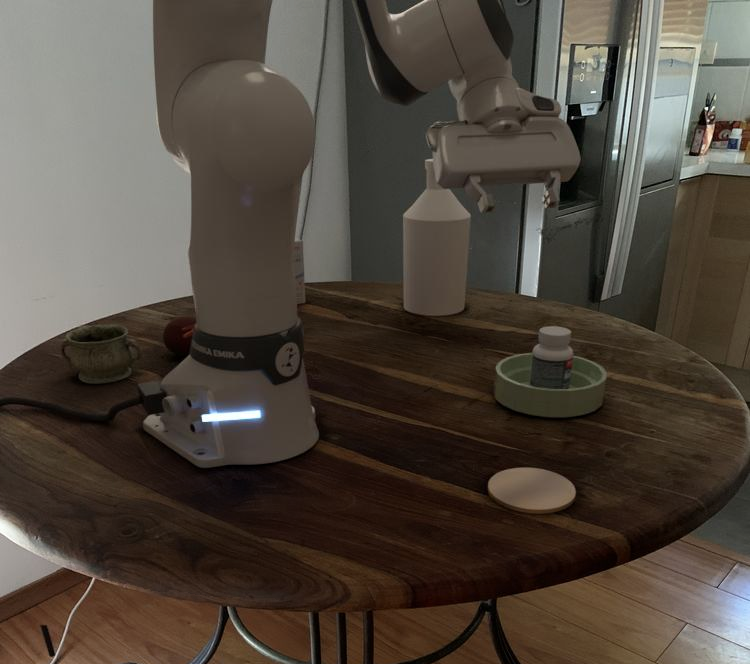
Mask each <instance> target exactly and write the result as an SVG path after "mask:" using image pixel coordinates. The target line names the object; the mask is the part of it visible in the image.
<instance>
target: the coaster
mask: <svg viewBox="0 0 750 664" xmlns="http://www.w3.org/2000/svg"><path fill="white" fill-rule="evenodd" d="M575 487H576V486H575V485H574V483H572V481H570V479H568V478H567V477H565V476H563V475H561V474H559V473H557V472H555V471H551V470H547V469H543V468H537V467H513V468H507V469H504V470H501V471H498V472H496V473H495V474H494V475H493V476H491V477H490V478H489V480H488V482H487V492H488V495H489V497H490V498H491V499H492V500H493V501H494V502H495V503H497V504H498V505H500V506H502V507H504V508H506V509H509V510H512V511H514V512H520V513H525V514H537V515H542V514H543V515H544V514H552V513H557V512H560V511H563V510H566V509H567V508H569V507H570V506H571V505H572V504H573V503H574V502H575V500H576V496H577V490H576V488H575Z"/></svg>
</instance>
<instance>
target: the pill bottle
mask: <svg viewBox="0 0 750 664" xmlns="http://www.w3.org/2000/svg"><path fill="white" fill-rule="evenodd" d="M571 338H572V331H571V330H570V329H569V328H566V327H563V326H556V325H555V326H554V325H552V326H551V325H549V326H543V327H541V328H540V329H539V330H538V337H537V340H538V342H539V343H537V344H536V345H535V346H534V347H533V349H532V352H531V353H532V363H531V373H530V381H529V386H533V387H540V388H549V389H569V384H570V376H571V369H572V361H573V356H574V350H573V349H572V347H571V346H569V345H570V343H571Z"/></svg>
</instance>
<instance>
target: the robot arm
mask: <svg viewBox="0 0 750 664" xmlns="http://www.w3.org/2000/svg"><path fill="white" fill-rule="evenodd" d="M273 1H274V0H152V40H153V41H152V42H153V44H152V45H153V67H154V68H153V69H154V85H155V98H156V99H155V101H156V113H155V114H156V125H157V130H158V134H159V137H160V139H161V142H162V144H163V146H164V148H165V150H166V151H167V153H168V155H169V156H170V158H171V159H172V160H173V161H174V163H176V164H177V166H179V167H180V168H181V169H182V170H184V171H185V172H187V173H188V174H189V180H190V235H189V242H188V247H187V258H188V259H187V260H188V266H189V267H188V268H189V272H190V273H189V274H190V282H191V291H192V298H193V306H194V311H195V318H196V320H197V323H196V324H194V325H191V326H188V327H184V328H182V330H187V329H192V331H190V332H188V333H186V334H185V335H183V337H184V338H186V337H189V336H192V341H191V347H190V355H189V356H187V357H185V358H184V359H182V361H181V362H180V363H178V364H177V365H176V366H175V367H174V368H173V369H172V370H171V371H170V372H168V373H167V374H166V375H165V376H164V377H163V378H162V380H161V381H160V383H159V382H158V380H152V381H146V382H141V383H137V384H136V386H137V387H136V388H137V392H138V396H136V397H133V398H130V399H127V400H126V399H125V400H124V401H121V402H119V403H117V404H114V405H113V406H111V408H109V410H108V413H106V414H95V413H89V412H83V411H79V410H75V409H71V408H67V407H65V406H63V405H61V404H57V403H53V402H47V401H41V400H35V399H30V398H24V397H16V396H13V397H12V396H11V397H4V398H0V408H2V407H4V406H10V405H11V406H12V405H18V406H26V407H31V408H35V409H42V410H47V411H54V412H57V413H59V414H62V415H64V416H66V417H70V418H75V419H79V420H82V421H83V420H84V421H88V422H96V423H108V422H111V421H113V420H114V419H115V418H116V416H117V414H118V413H119V412H121V411H124V410H126V409H129V408H132V407H136V406H138V405H141V406H142V408H143V410H144V411H145V412H146V414H147V415H148V416H147V417H145V418H144V419H143V421H142V428H143V430H144V431H145V432H147V434H149V435H151V436H152V437H154V438H155V439H157V440H158V441H159V442H160V443H162V444H164V445H165V446H167V447H168V448H169V449H171V450H172V451H174V452H175V453H177V454H178V455H180V456H181V457H182V458H184V459H185V460H187V461H189V462H190V463H191V464H193V465H194V466H196V467H198V468H201V469H209V468H218V467H223V466H229V465H230V466H231V465H241V466H244V465H245V466H246V465H247V466H248V465H250V466H251V465H253V466H254V465H263V464H264V465H265V464H271V463H277V462H282V461H285V460H288V459H291V458H294V457H297V456H299V455H301V454H304V453H305V452H307V451H308V450H311V448H313V446H315V445H316V443H317V442H318V440H319V438H320V432H319V429H318V426H317V422H316V419H317V418H316V417H317V414H316V409H315V407H314V406H313V405H312V402H311V395H310V389H309V384H308V383H309V382H308V378H307V373H306V367H305V362H304V357H303V356H304V352H305V344H304V343H305V342H304V337H305V335H304V333H305V332H304V329H303V322H302V319H301V318H300V317H299V315H298V304H297V296H296V278H295V261H294V246H295V237H296V231H297V223H298V214H299V208H300V200H301V191H302V186H303V185H302V184H303V177H304V173H305V172H306V170H307V168H308V166H309V164H310V162H311V159H312V157H313V154H314V149H315V144H316V125H315V120H314V116H313V112H312V110H311V106H310V104H309V102H308V101H307V99H306V97H305V96H304V94H303V93H302V92H301V90H300V89H299V88H298V86H296V85H295V84H294V83H293V82H292V81H290V79H288V78H287V77H286V76H285V75H284V74H282V73H280V72H279V71H278V70H276V69H274V68H273V67H271V66H269V65H267V64H266V53H267V43H268V42H267V41H268V32H269V24H270V16H271V11H272V5H273ZM351 3H352V6H353V10H354V12H355V16H356V19H357V23H358V26H359V29H360V33H361V36H362V39H363V42H364V49H365V57H366V63H367V69H368V72H369V76H370V77H371V81H372V84H373V86H374V87H375V89H376V91H377V92H378V93H379V94H380V96H381V97H382V99H383V100H385V101H387V102H390V103H393V104H396V105H400V106H404V107H405V106H406V107H409V106H410V105H412V104H414V103H415V102H416V101H418V100H419V99H421V98H423V97H424V96H426V95H428V93H429V92H430V91H432V90H434V89H436V88H438V87H440V86H442V85H444V84H446V83H448V86H449V89H450V93H451V94H452V96H453V98H454V99H455V100H456V114H457V118H458V120H452V121H436V122H434V123H433V125H431V126H429V127H428V128H427V129H426V132H425V138H426V141H427V144H428V148H429V149H430V150H431V152H432V159H433V165H434V172H435V177H436V181H437V183H438V184H439V185H440V186H441V187H442V188H444V189H450V190H451V189H452V190H454V189H464V190H465V193H466V194H467V196H468V197H470V198H471V199H472V200H473V201H474V202H475V203H476V204H477V206H478V209H479V212H480V213H481V214H485V213H492V212H493V210H494V209H495V206H496V202H495V200H494V195H493V193H487V192H486V191H485V190H484V189H483V188H485V187H486V188H487V187H501V186H517V185H531V184H532V185H534V184H543V185H544V188H545V189H546V191H545V193H544V194H543V196H542V198H541V202H542V203H543V207H544V209H555V208H557V206H558V205H559V204H560V199H561V198H560V195H559V193H558V189H559V185H560V183H565V182H568V181H570V180H571V179H572V177H573V176H574V175H575V174H576V172H577V170H578V168H579V166H580V164H581V160H582V158H581V154H580V150H579V147H578V144H577V142H576V139H575V137H574V134H573V132H572V130H571V128H570V126H569V124H568V123H567V122H566V121H565V120H564V119H563V118H560V116H561V113H562V107H561V104H560V102H559V101H558V100H556V99H553V98H550V97H546V96H542V95H539V94H536V93H533V92H531V91H528V90H526V89H524V88H521V87H520V85H519V83H518V82H517V80H516V79H515V78H514V76H513V66H512V60H511V54H512V52H513V51H512V50H513V47H514V42H515V37H514V33H513V29H512V26H511V24H510V22H509V20H508V17H507V13H506V9H505V5H504V2H503V0H422V1H420V2H418V3H417V4H415V5H413V6H412V7H410V8H408V9H406V10H404V11H402V12H400V13H395V14H394V13H390V12H389V10H388V6H387V1H386V0H351ZM40 629H41V632H42V635H43V639H44V642H45V646H46V649H47V653H48V656H49V657H50V658H52V657H55V656H56V652H55V649H54V644H53V641H52V638H51V634H50V631H49V627H48V625H47V624H40Z"/></svg>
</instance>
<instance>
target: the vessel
mask: <svg viewBox="0 0 750 664" xmlns="http://www.w3.org/2000/svg"><path fill="white" fill-rule="evenodd" d="M128 335H129V330H128V328H127V327H125V326H123V325H119V324H108V323H107V324H93V325H86V326H81V327H79V328H76V329H73V330H71V331H69V332H67V333H66V334H65V338H64V339H62V340H61V341H60V344H59V353H60V356H61V357H62V359H63V360H64V361H65V362H66V363H67V365H68V368H69V369H71V370H73V371H75V370H78V371H79V373H78V379H79V380H80V381H81V382H83V383H85V384H94V385H99V384H108V383H114V382H118V381H120V380H124V379H126V378H128V377H130V375H131V374H132V371H134V372H137V371H139V370H140V367H141V366H140V362H141V361H142V359H143V350H142V348H141V346H140V345H139V343H138V342H137V341H136V339H133V338H128V337H127V336H128ZM66 347H70V351H69V356H67V354H66V352H65V348H66ZM132 348H134V349H135V350H136V351H137V357H135V358H134V354H133V351H132ZM129 365H130V366H131V367H129ZM131 368H132V369H131Z"/></svg>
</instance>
